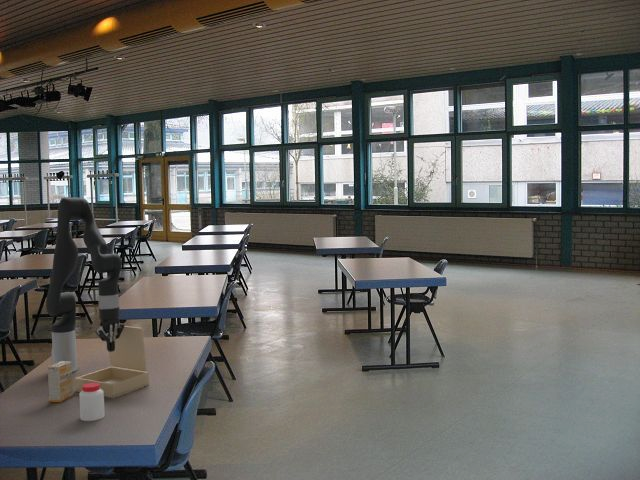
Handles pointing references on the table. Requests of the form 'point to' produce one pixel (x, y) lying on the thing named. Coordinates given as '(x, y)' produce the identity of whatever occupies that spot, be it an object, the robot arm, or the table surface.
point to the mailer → (114, 380)
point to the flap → (129, 350)
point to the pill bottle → (91, 402)
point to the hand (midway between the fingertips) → (111, 351)
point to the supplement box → (60, 381)
